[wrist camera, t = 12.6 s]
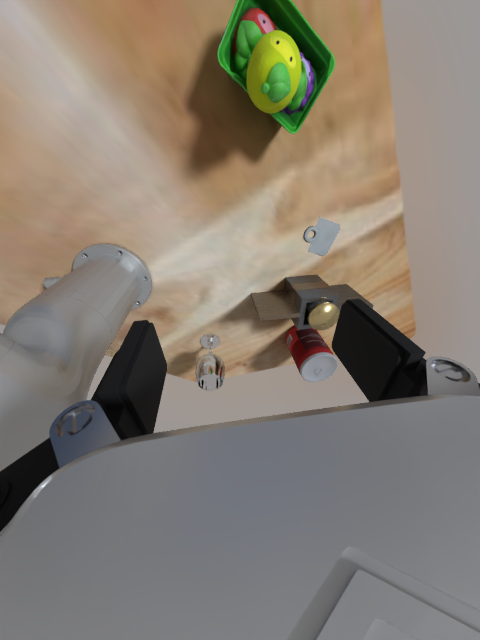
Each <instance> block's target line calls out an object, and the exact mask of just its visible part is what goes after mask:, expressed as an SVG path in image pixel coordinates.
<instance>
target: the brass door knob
mask: <svg viewBox="0 0 480 640" xmlns="http://www.w3.org/2000/svg"><path fill="white" fill-rule="evenodd" d="M306 309H307V310H308V311H309V313H308V316H307V320H308V322H309V324H310V325H311V327H312V328H314V329H316V330H325V329H328V328H330V327H331V326H333V325H334V324H335V323H336V322H337V320H338V318H339V314H340V311H339V309H338V308H337V307H336V305H335V304H333V303H332V302H328V301H325V302H323V301H322V302H312V303H306Z"/></svg>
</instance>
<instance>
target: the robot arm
mask: <svg viewBox="0 0 480 640" xmlns="http://www.w3.org/2000/svg"><path fill="white" fill-rule="evenodd" d="M120 251H121V252H122V253H121V252H120ZM86 254H87V255H88V256H87V255H86ZM145 276H146V277H147V278H146V277H145ZM43 284H44V286H45V287H46V288H47V289H46V290H45V291H43V292H42V293H40V294H39V295H38V296H36V297H35V298H33V299H32V300H30V301H29V302H27V303H26V304H25V305H23V306H22V307H21V308H19V309H18V310H17V311H16V312H15V313H14V314H13V316H12V317H11V318H10V320H9V321H8V323H7V325H6V327H5V329H4V332H3V335H2V334H1V333H0V640H480V384H479V383H478V382H477V378H476V376H475V374H474V373H473V372H472V371H471V370H470V369H469V368H467V367H466V366H464V365H463V364H461V363H459V362H456V361H454V360H451V359H449V358H444V357H431V358H429V359H427V361H426V360H425V359H424V358H423V356H424V354H425V351H423V350H422V349H421V348H419V347H418V346H417V345H416V344H415V343H413V342H412V341H411V340H410V339H409V338H407V337H406V336H405V335H404V334H402V333H401V332H400V331H399V330H398V329H396V328H395V327H394V326H393V325H391V324H390V323H389V322H388V321H387V320H385V319H384V318H383V317H382V316H380V315H379V314H378V313H377V312H376V311H374V310H373V309H372V308H371V307H369V306H368V305H367V304H366V303H365V302H363V301H362V300H361V299H350V300H346V301H345V303H343V304H342V306H341V310H340V314H339V318H338V322H337V326H336V330H335V333H334V337H333V341H332V349H333V351H334V352H335V354H336V355H337V357H338V358H339V359H340V361H341V362H342V364H343V365H344V366H345V368H346V369H347V371H348V372H349V374H350V375H351V376H352V378H353V379H354V381H355V382H356V383H357V385H358V386H359V388H360V389H361V390H362V392H363V393H364V395H365V396H366V398H367V399H368V400H369V402H368V403H360V404H353V405H345V406H338V407H330V408H323V409H316V410H309V411H302V412H294V413H287V414H280V415H273V416H266V417H259V418H252V419H245V420H238V421H231V422H224V423H217V424H210V425H203V426H196V427H190V428H183V429H177V430H171V431H166V432H159V433H153V431H154V427H155V422H156V417H157V413H158V408H159V404H160V399H161V395H162V390H163V386H164V381H165V376H166V372H167V363H166V360H165V357H164V354H163V351H162V348H161V345H160V342H159V339H158V336H157V333H156V330H155V327H154V325H153V323H149V321H148V320H143V321H135V322H133V324H132V326H131V328H130V330H129V332H128V334H127V336H126V338H125V340H124V342H123V343H122V345H121V347H120V349H119V351H117V352H116V354H115V355H114V357H113V359H112V361H111V363H110V365H109V367H108V368H107V370H106V372H105V374H104V376H103V378H102V380H101V382H100V384H99V385H98V387H97V389H96V391H95V393H94V395H93V397H92V399H91V400H86V399H87V395H88V392H89V388H90V385H91V382H92V380H93V377H94V375H95V373H96V370H97V368H98V366H99V364H100V363H101V361H102V359H103V357H104V355H105V354H106V352H107V350H108V348H109V347H110V345H111V343H112V342H113V340H114V338H115V337H116V335H117V333H118V331H119V330H120V328H121V326H122V325H123V323H124V321H125V319H126V318H127V316H128V314H129V312H130V311H131V310H134V309H136V308H138V307H140V306H142V305H143V304H144V303H145V302H146V301H147V299H148V298H149V296H150V293H151V290H152V279H151V275H150V273H149V271H148V268H147V267H146V266H145V264H144V263H143V262H142V260H141V259H140V258H139V257H138V256H136V255H135V254H134V253H132V252H131V251H129V250H127V249H125V248H123V247H120V246H118V245H113V244H104V243H100V244H95V245H92V246H89V247H87V248H85V249H84V250H82V251H81V252H80V253H79V254H78V255H77V256H76V258H75V260H74V263H73V271H72V272H70V273H69V274H66V275H64V276H63V277H49V278H45V279H44V281H43ZM138 301H139V302H138Z"/></svg>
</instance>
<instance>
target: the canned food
mask: <svg viewBox="0 0 480 640" xmlns="http://www.w3.org/2000/svg"><path fill="white" fill-rule="evenodd" d="M286 343H287V346H288V348H289V350H290V352H291V354H292V357H293V359H294V361H295V363H296V366H297V368H298V370H299V372H300V374H301V375H302V377H303V379H305V380H306V381H309V382H319V381H322V380H325V379H327V378H328V377H330V376H331V375H332V374H333V373H334V372H335V371H336V369H337V366H338V362H337V360H336V358H335V356H334V355H333V353H332V352H331V350H330V349H329V347H328V346H327V344H326V343H325V342H324V340H323V339H322V337H321V336H320V334H319V333H318V332H317V330H316V329H314V328H310V329H301V330H298V329H297V328H296V326H293V327H292V328H291V329H290V330H289V331H288V333H287V335H286Z"/></svg>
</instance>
